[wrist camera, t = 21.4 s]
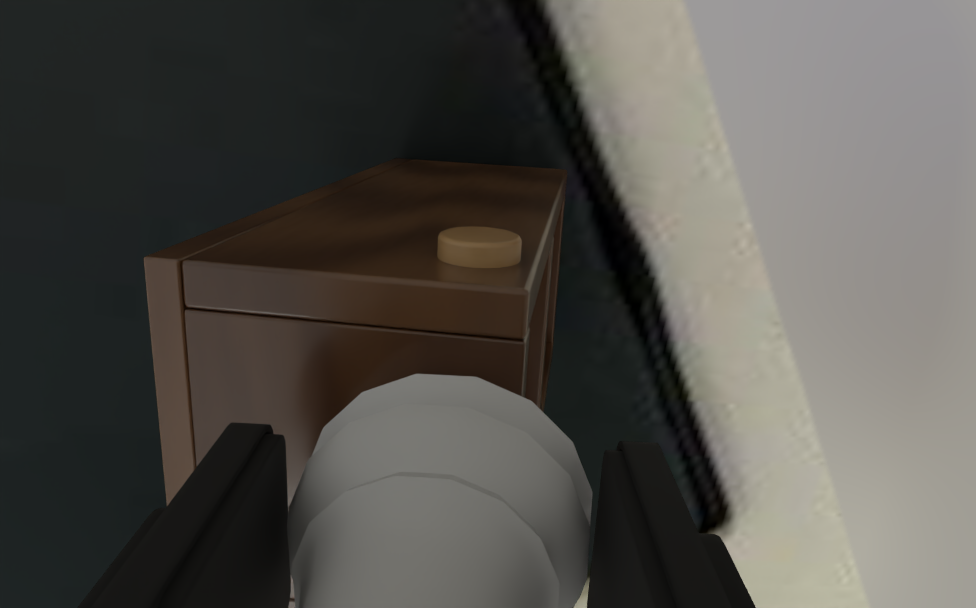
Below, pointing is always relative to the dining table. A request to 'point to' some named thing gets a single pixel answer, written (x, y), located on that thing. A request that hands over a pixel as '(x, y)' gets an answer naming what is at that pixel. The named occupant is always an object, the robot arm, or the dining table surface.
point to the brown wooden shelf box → (354, 302)
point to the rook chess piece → (440, 503)
